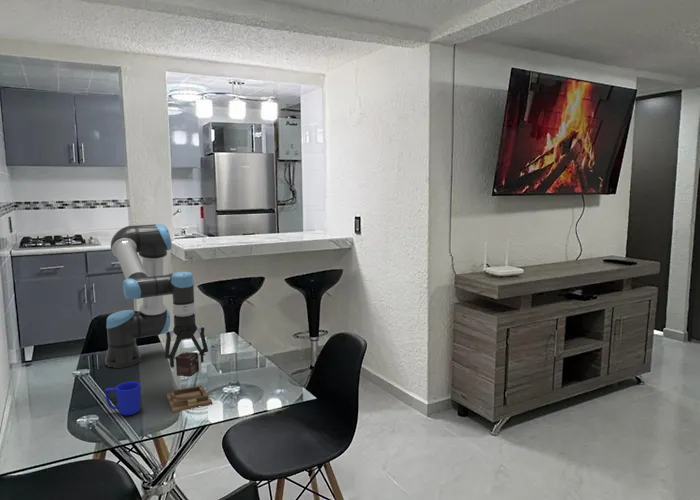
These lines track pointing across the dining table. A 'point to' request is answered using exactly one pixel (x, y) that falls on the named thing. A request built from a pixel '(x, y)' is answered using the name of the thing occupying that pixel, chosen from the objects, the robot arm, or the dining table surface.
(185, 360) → the box
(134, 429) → the dining table surface
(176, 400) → the brown tray
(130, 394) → the mug
